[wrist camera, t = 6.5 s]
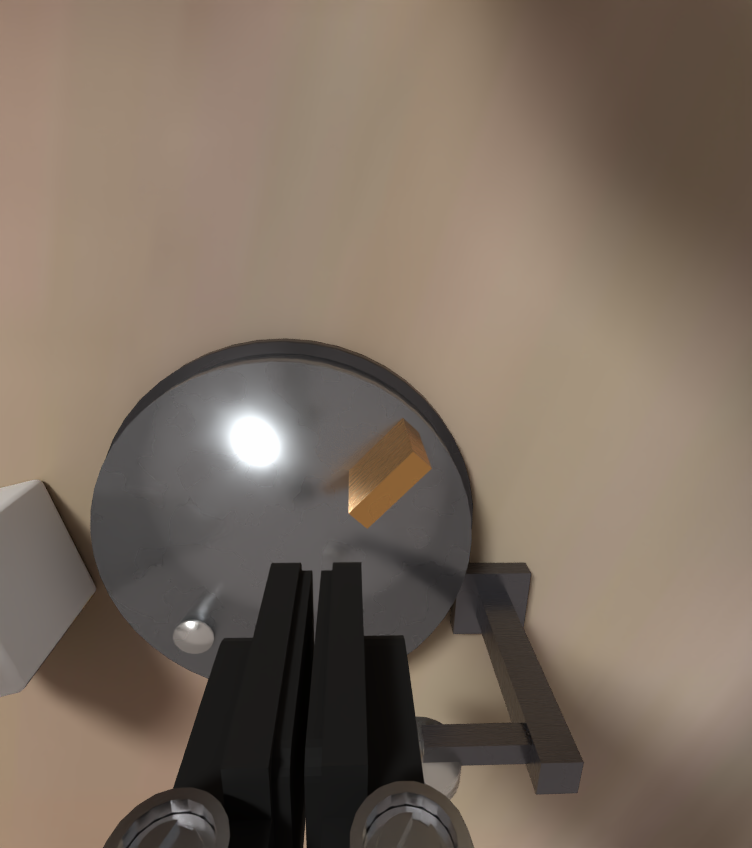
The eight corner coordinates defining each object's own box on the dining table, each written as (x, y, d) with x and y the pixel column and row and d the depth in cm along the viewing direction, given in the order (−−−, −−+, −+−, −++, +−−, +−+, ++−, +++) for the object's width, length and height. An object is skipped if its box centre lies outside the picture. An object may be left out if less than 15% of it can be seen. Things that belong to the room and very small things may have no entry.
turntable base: (80, 335, 24) (68, 339, 23) (484, 341, 25) (489, 345, 24) (133, 661, 30) (126, 674, 29) (455, 655, 31) (458, 668, 30)
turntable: (305, 713, 31) (294, 819, 25) (37, 535, 26) (-50, 615, 21) (533, 516, 27) (581, 588, 22) (269, 268, 23) (241, 276, 17)
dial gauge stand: (373, 563, 29) (385, 745, 18) (525, 562, 29) (622, 739, 19) (371, 623, 30) (382, 824, 20) (517, 621, 31) (604, 816, 20)
